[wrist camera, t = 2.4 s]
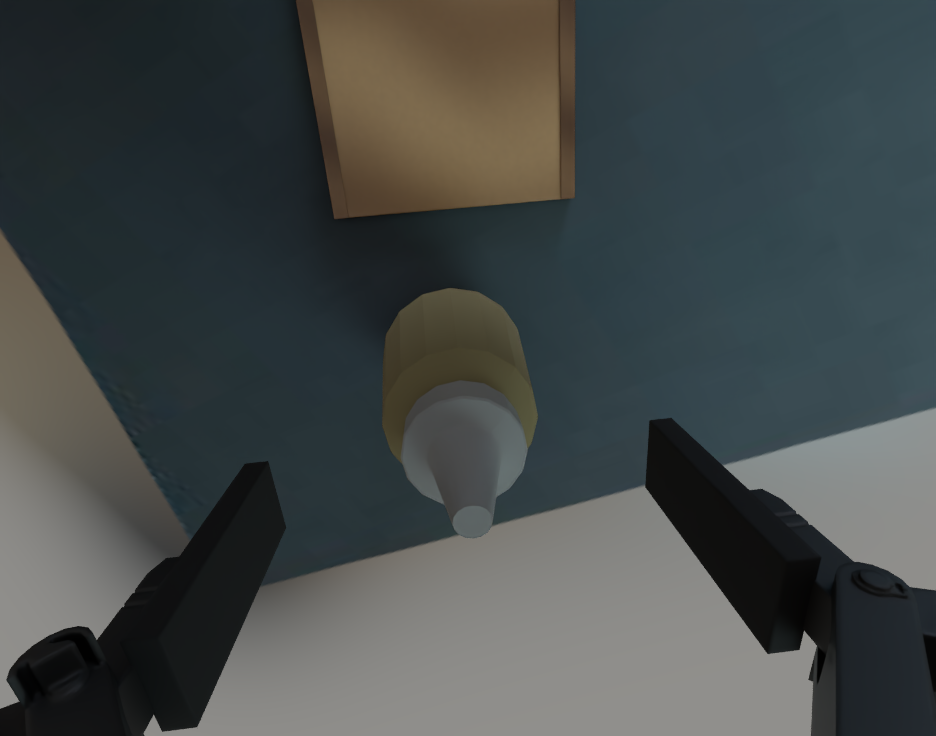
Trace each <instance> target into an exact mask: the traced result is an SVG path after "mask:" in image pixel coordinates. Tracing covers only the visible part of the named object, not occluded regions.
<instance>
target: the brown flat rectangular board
mask: <svg viewBox="0 0 936 736" xmlns="http://www.w3.org/2000/svg"><path fill="white" fill-rule="evenodd" d="M296 4H297V10H298V16H299V21H300V27H301V33H302V38H303V44H304V50H305V55H306V61H307V67H308V72H309V78H310V84H311V89H312V95H313V101H314V106H315V112H316V118H317V123H318V129H319V135H320V140H321V146H322V152H323V157H324V163H325V169H326V174H327V180H328V186H329V191H330V197H331V203H332V208H333V214H334V219H342V218H352V217H364V216H375V215H386V214H398V213H409V212H420V211H432V210H443V209H454V208H466V207H477V206H489V205H500V204H511V203H523V202H534V201H545V200H557V199H569V198H575V0H296Z"/></svg>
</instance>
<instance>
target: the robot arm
mask: <svg viewBox="0 0 936 736" xmlns="http://www.w3.org/2000/svg"><path fill="white" fill-rule="evenodd" d="M645 487H646V489H647V490H648V491H649V493H650V494H651V495H652V497H653V498H654V500H655V501H656V502H657V504H658V505H659V506H660V508H661V509H662V510H663V512H664V513H665V515H666V516H667V517H668V519H669V520H670V521H671V522H672V524H673V525H674V527H675V528H676V530H677V531H678V532H679V534H680V535H681V536H682V538H683V539H684V540H685V542H686V543H687V545H688V546H689V547H690V549H691V550H692V551H693V553H694V554H695V555H696V557H697V558H698V559H699V561H700V562H701V564H702V565H703V566H704V568H705V569H706V570H707V572H708V573H709V574H710V576H711V577H712V578H713V580H714V581H715V583H716V584H717V585H718V587H719V588H720V589H721V591H722V592H723V593H724V595H725V596H726V598H727V599H728V600H729V602H730V603H731V605H732V606H733V607H734V608H735V610H736V611H737V613H738V614H739V615H740V617H741V618H742V620H743V621H744V622H745V624H746V625H747V626H748V628H749V629H750V630H751V632H752V633H753V635H754V636H755V637H756V639H757V640H758V641H759V643H760V644H761V645H762V647H763V648H764V650H765V651H766V652H767V654H770V653H779V652H786V651H794V650H799V649H800V645H801V641H802V637H803V632H804V631H805V632H806V633H807V634H808V635H809V636H810V638H811V639H812V640H813V641H814V642H815V644H816V645H817V648H816V652H815V656H814V660H813V664H812V667H811V672H810V675H809V680H811V681H813V702H812V725H811V736H936V591H935V590H927V589H920V588H912V587H909V586H908V585H907V584H906V583H905V582H904V581H903V580H902V579H900V578H899V577H897V576H895V575H894V574H892V573H890V572H889V571H887V570H884V569H881V568H879V567H876V566H874V565H870V564H865V563H860V562H854V561H852V560H851V559H850V558H849V557H848V556H846V555H845V554H844V553H843V552H842V551H841V550H840V549H838V548H837V547H836V546H835V545H834V544H833V543H832V542H830V541H829V540H828V539H827V538H826V537H825V536H823V535H822V534H821V533H820V532H819V531H818V530H816V529H815V528H814V527H813V526H812V525H809V524H808V522H807V521H806V520H805V519H804V518H803V517H802V516H800V515H799V514H796V511H795V510H793V509H792V508H791V507H790V506H789V505H788V504H786V503H785V502H784V501H783V500H782V499H780V498H778V497H776V496H774V495H773V494H771V493H769V492H767V491H765V490H763V489H757V490H748V489H747V488H746V487H745V486H744V485H743V484H742V483H741V482H740V481H739V480H738V479H736V478H735V477H734V476H733V475H732V474H731V473H730V472H729V471H728V470H727V469H726V468H724V466H722V465H721V464H720V463H719V462H718V461H717V460H716V459H715V458H714V457H713V456H712V455H711V454H710V453H708V452H707V451H706V450H705V449H704V448H703V447H702V446H701V445H700V444H699V443H698V442H697V441H695V440H694V439H693V438H692V437H691V436H690V435H689V434H688V433H687V432H686V431H685V430H684V429H683V428H681V427H680V426H679V425H678V424H677V423H676V422H675V421H674V420H673V419H672V418H667V419H658V420H650V423H649V439H648V454H647V470H646V485H645ZM285 529H286V526H285V522H284V518H283V515H282V511H281V507H280V504H279V500H278V496H277V493H276V489H275V485H274V482H273V478H272V474H271V470H270V467H269V463H268V461H266V462H257V463H248V464H244V466H243V467H242V469H241V470H240V472H239V473H238V474H237V476H236V477H235V479H234V480H233V481H232V483H231V484H230V486H229V487H228V489H227V490H226V491H225V493H224V494H223V496H222V497H221V498H220V500H219V501H218V503H217V504H216V506H215V507H214V508H213V510H212V511H211V513H210V514H209V515H208V517H207V518H206V520H205V521H204V523H203V524H202V525H201V527H200V528H199V530H198V531H197V532H196V534H195V535H194V537H193V538H192V540H191V541H190V542H189V544H188V545H187V547H186V548H185V549H184V551H183V552H182V554H181V555H180V556H179V557H173V558H166V559H165V560H164V561H162V562H161V563H160V564H159V565H157V566H156V567H155V568H154V569H152V570H151V571H150V572H149V573H148V574H147V575H146V576H145V578H144V579H143V580H142V581H141V583H140V584H139V585H138V587H137V588H136V590H135V593H133V594H132V595H131V596H130V597H129V599H128V600H127V601H126V603H125V606H124V607H122V608H121V609H120V610H119V612H118V613H117V614H116V616H115V617H114V618H113V620H112V621H111V622H110V624H109V625H108V626H107V628H106V629H105V630H104V631H103V633H102V634H101V635H100V637H99V638H98V640H96V638H95V637H94V635H93V633H92V631H91V630H90V629H89V628H88V627H81V626H77V627H72V628H67V629H63V630H61V631H59V632H57V633H54V634H52V635H49V636H48V637H46V638H45V639H43V640H41V641H40V642H38V643H37V644H35V645H33V646H32V647H31V648H30V649H28V650H27V651H26V652H25V653H24V654H23V655H21V656H20V657H19V658H18V660H17V661H16V662H15V663H14V665H13V666H12V667H11V669H10V671H9V674H8V677H7V682H8V683H9V685H10V687H11V688H12V690H13V691H14V693H15V695H16V696H17V698H18V700H19V701H20V702H17V703H15V704H12V705H9V706H7V707H4V708H1V709H0V736H144V734H143V733H144V731H145V729H146V728H147V726H148V724H149V722H150V720H151V718H152V717H153V715H154V716H155V718H156V720H157V722H158V724H159V726H160V728H161V730H162V732H163V731H171V730H179V729H187V728H194V727H197V726H198V724H199V722H200V720H201V717H202V715H203V712H204V711H205V708H206V706H207V704H208V702H209V699H210V697H211V695H212V693H213V691H214V688H215V686H216V684H217V681H218V679H219V677H220V675H221V673H222V670H223V668H224V666H225V663H226V661H227V659H228V657H229V655H230V652H231V650H232V648H233V646H234V643H235V641H236V639H237V636H238V634H239V632H240V630H241V628H242V625H243V623H244V621H245V619H246V616H247V614H248V612H249V610H250V607H251V605H252V603H253V601H254V598H255V596H256V594H257V592H258V590H259V587H260V585H261V583H262V581H263V578H264V576H265V574H266V572H267V569H268V567H269V565H270V563H271V560H272V558H273V556H274V554H275V551H276V549H277V547H278V545H279V542H280V540H281V538H282V536H283V533H284V531H285Z"/></svg>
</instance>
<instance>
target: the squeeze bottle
mask: <svg viewBox="0 0 936 736" xmlns="http://www.w3.org/2000/svg"><path fill="white" fill-rule="evenodd" d="M537 418H538V415H537V410H536V405H535V400H534V395H533V390H532V386H531V382H530V378H529V373H528V369H527V365H526V361H525V357H524V353H523V349H522V345H521V341H520V337H519V333H518V329H517V327H516V326H515V324H514V323H513V321H512V320H511V319H510V317H509V316H508V314H507V313H506V311H505V310H504V309H503V307H502V306H500V305H499V304H497V303H496V302H494V301H492V300H491V299H489V298H487V297H486V296H484V295H482V294H481V293H479V292H475V291H468V290H462V289H455V288H447V289H443V290H439V291H435V292H431V293H427V294H423V295H421V296H420V297H418V298H417V299H416V300H414V301H413V302H411V303H410V304H409V305H407V306H406V307H405V308H403V309H402V310H401V311H399V313H398V315H397V317H396V318H395V320H394V322H393V323H392V325H391V327H390V329H389V330H388V332H387V334H386V338H385V347H384V357H383V418H382V426H383V429H384V432H385V435H386V438H387V441H388V444H389V447H390V450H391V452H392V453H393V454H394V456H395V457H396V458H397V459H398V460H399V461H400V462H401V463H402V464H403V467H404V470H405V473H406V476H407V479H408V480H409V481H410V482H411V483H412V484H413V485H414V486H415V487H416V488H417V489H418V490H419V491H420V492H421V493H422V495H425V496H427V497H429V498H431V499H433V500H435V501H437V502H440V503H442V504H445V507H446V510H447V512H448V515H449V517H450V520H451V522H452V525H453V527H454V530H455V531H456V532H457V533H458V534H459V535H461V536H463V537H465V538H477V537H481V536H482V535H484V534H486V533H487V532H488V531H489V530H490V528H491V526H492V522H493V515H494V508H495V501H496V497H497V496H498V495H500V494H502V493H503V492H505V491H506V490H508V489H509V488H510V487H511V486H512V484H513V483H514V482H515V480H516V479H517V478H518V476H519V475H520V474H521V472H522V471H523V468H524V463H525V459H526V455H527V451H528V447H529V446H530V444H531V443H532V439H533V435H534V431H535V427H536V422H537Z"/></svg>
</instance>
